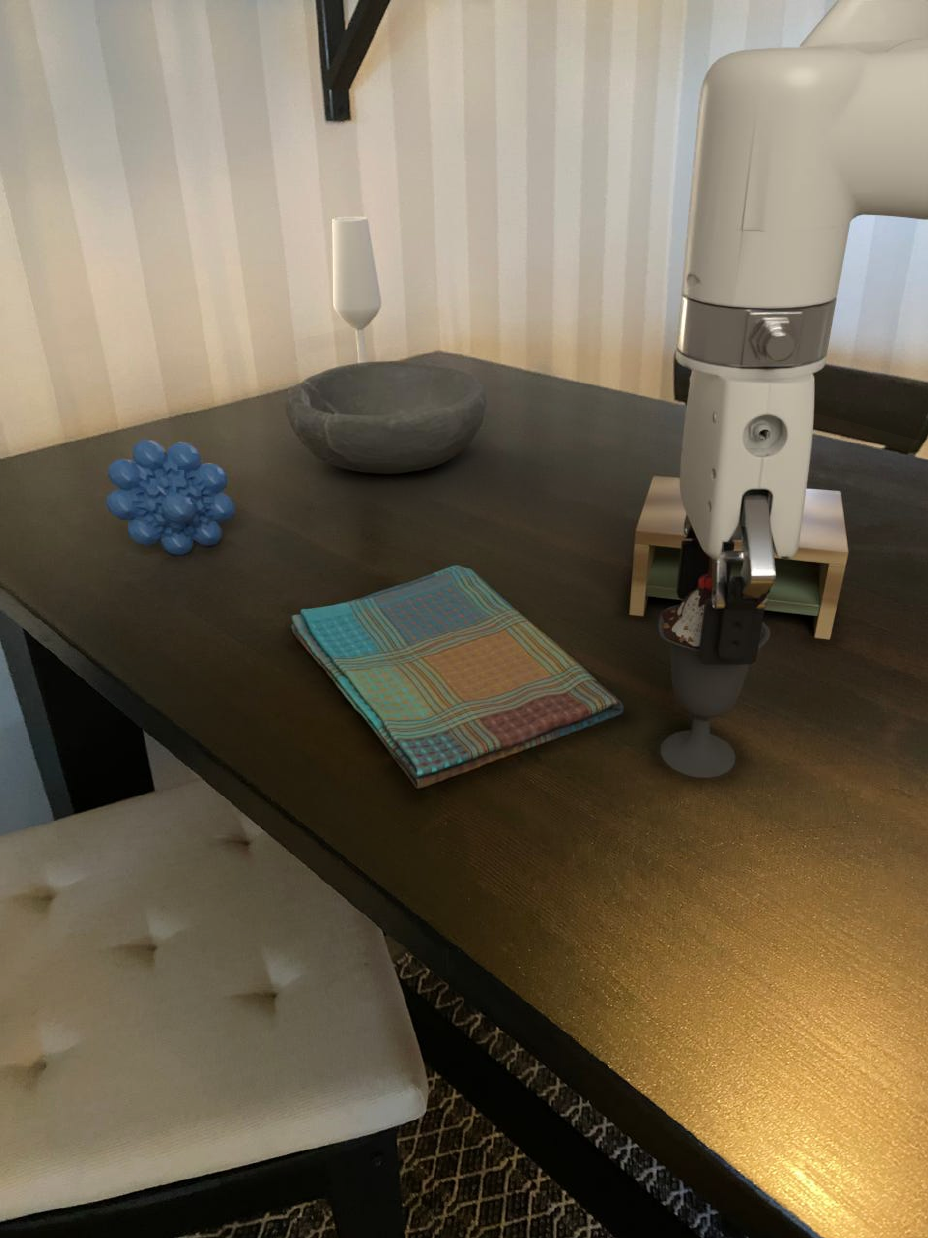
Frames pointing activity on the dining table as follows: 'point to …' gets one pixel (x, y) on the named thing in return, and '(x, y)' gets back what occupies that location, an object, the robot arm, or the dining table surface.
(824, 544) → the shelf
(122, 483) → the blue flower ornament
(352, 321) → the champagne flute
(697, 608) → the sundae
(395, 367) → the bowl
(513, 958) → the dining table surface
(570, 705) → the dish towel
